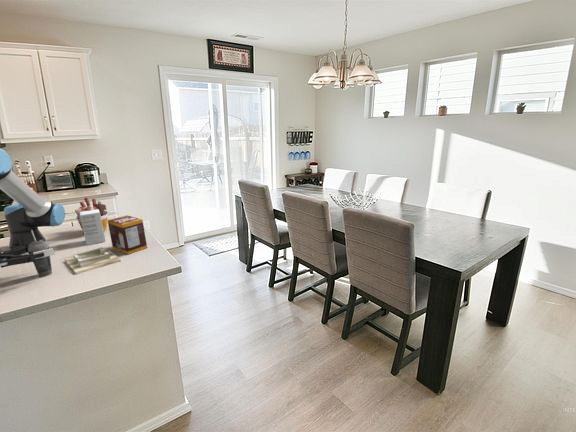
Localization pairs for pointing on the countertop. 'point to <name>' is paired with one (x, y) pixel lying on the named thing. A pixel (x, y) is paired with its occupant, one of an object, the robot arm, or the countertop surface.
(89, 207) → the bucket of meat
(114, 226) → the supplement box
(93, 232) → the supplement box
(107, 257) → the cup holder
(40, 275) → the beverage cup
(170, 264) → the countertop surface
